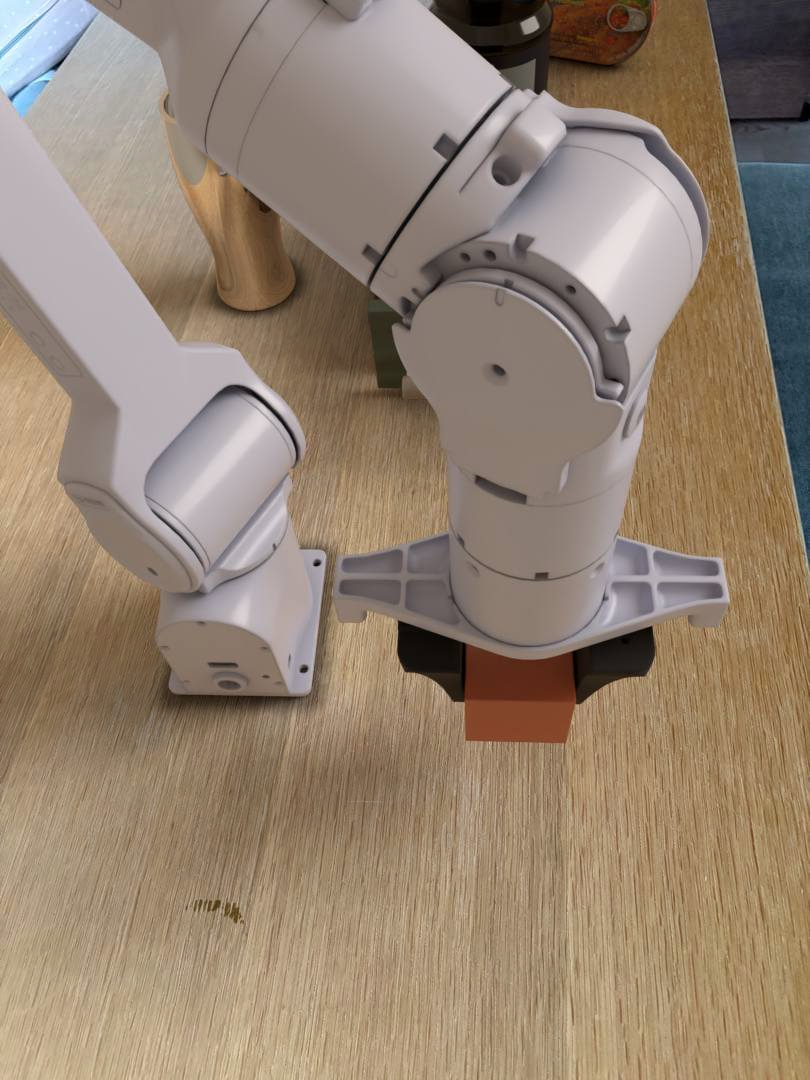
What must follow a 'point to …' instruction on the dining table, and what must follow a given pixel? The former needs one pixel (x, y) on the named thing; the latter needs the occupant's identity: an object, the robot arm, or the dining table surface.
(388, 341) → the drawer
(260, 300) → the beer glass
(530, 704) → the block
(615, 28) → the tin
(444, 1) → the supplement container
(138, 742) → the dining table surface
